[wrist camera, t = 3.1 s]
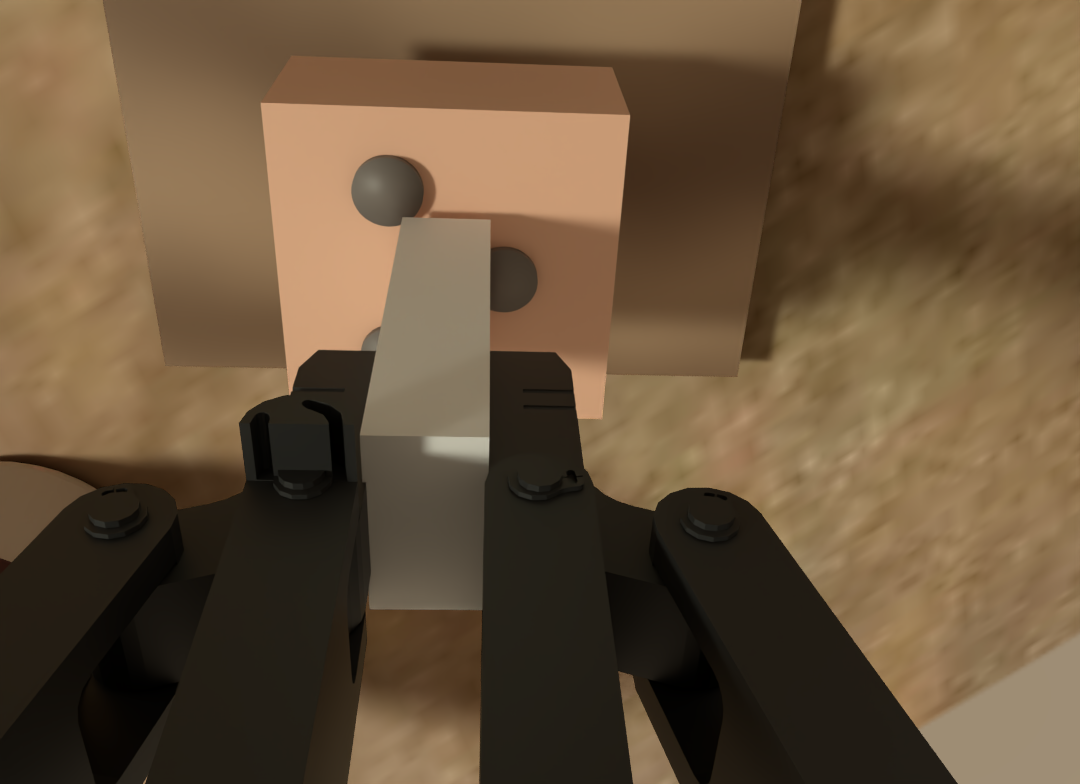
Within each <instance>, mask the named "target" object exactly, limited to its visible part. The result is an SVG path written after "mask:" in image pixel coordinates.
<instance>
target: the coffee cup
mask: <svg viewBox="0 0 1080 784" xmlns="http://www.w3.org/2000/svg"><path fill="white" fill-rule="evenodd" d="M94 490H97V489H96V488H94V487H92V486H90V485H89V484H87V483H85V482H83V481H81V480H79V479H77V478H74V477H72V476H69V475H67V474H64V473H62V472H59V471H57V470H53V469H49V468H46V467H42V466H38V465H32V464H25V463H18V462H3V461H0V574H1V573H2V572H3V571H4V570H5V569H6V568H7V567H8V566H9V565H10V563H11V562H12V561H13V560H14V559H15V558H16V557H17V556H18V555H19V554H20V553H21V552H22V551H23V550H24V549H25V548H26V547H27V546H28V545H29V544H30V543H31V542H32V541H33V540H34V539H35V538H36V537H37V536H38V535H39V534H40V533H41V531H42V530H43V529H44V528H45V527H46V526H47V525H48V524H49V523H50V522H51V521H52V520H53V519H54V518H55V517H56V516H57V515H58V514H59V513H60V512H61V511H62V510H63V509H64V508H65V507H67V506H68V505H69V504H71V503H72V502H73V501H75V500H76V499H77V498H79V497H80V496H82V495H85V494H87V493H89V492H92V491H94Z"/></svg>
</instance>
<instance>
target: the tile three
mask: <svg viewBox="0 0 1080 784" xmlns="http://www.w3.org/2000/svg"><path fill="white" fill-rule="evenodd" d="M261 112H262V122H263V132H264V142H265V152H266V162H267V172H268V183H269V193H270V203H271V213H272V223H273V233H274V243H275V253H276V263H277V274H278V284H279V294H280V304H281V314H282V324H283V334H284V344H285V354H286V365H287V375H288V385H289V395H290V394H291V391H292V390H293V388H292V387H293V384H294V381H295V378H296V375H297V371H298V368H299V367H300V366H301V365H302V364H303V363H304V362H305V361H306V360H308V359H309V358H310V357H311V356H312V355H313V354H314V353H315V352H317V351H318V350H355V351H376V349H377V344H378V339H379V334H380V329H381V324H382V319H383V313H384V308H385V303H386V298H387V293H388V288H389V283H390V278H391V272H392V267H393V262H394V257H395V252H396V247H397V242H398V237H399V231H400V226H401V221H402V217H415V218H451V219H487V220H491V229H490V351H524V352H556V353H557V355H558V356H559V357H560V358H561V359H562V360H563V361H564V362H565V363H566V365H567V366H568V367H569V368H570V369H571V371H572V379H573V387H574V395H575V403H576V410H577V418H578V419H602V414H603V403H604V392H605V382H606V371H607V360H608V349H609V338H610V328H611V317H612V306H613V295H614V285H615V274H616V263H617V252H618V241H619V231H620V220H621V209H622V198H623V188H624V177H625V166H626V155H627V144H628V134H629V123H630V113H629V111H628V108H627V105H626V103H625V100H624V97H623V95H622V92H621V89H620V87H619V84H618V81H617V78H616V76H615V73H614V70H613V68H612V67H592V66H564V65H536V64H509V63H481V62H453V61H426V60H398V59H370V58H343V57H315V56H291V57H290V59H289V60H288V62H287V63H286V65H285V66H284V68H283V69H282V71H281V72H280V74H279V75H278V77H277V79H276V80H275V82H274V83H273V85H272V86H271V88H270V89H269V91H268V92H267V94H266V95H265V97H264V98H263V100H262V101H261Z"/></svg>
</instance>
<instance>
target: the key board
mask: <svg viewBox="0 0 1080 784" xmlns="http://www.w3.org/2000/svg"><path fill="white" fill-rule="evenodd" d="M801 2H802V0H103V4H104V10H105V16H106V22H107V27H108V33H109V39H110V45H111V51H112V57H113V63H114V68H115V74H116V80H117V86H118V92H119V98H120V103H121V109H122V115H123V121H124V127H125V133H126V138H127V144H128V150H129V156H130V162H131V168H132V173H133V179H134V185H135V191H136V197H137V203H138V208H139V214H140V220H141V226H142V232H143V238H144V243H145V249H146V255H147V261H148V267H149V273H150V278H151V284H152V290H153V296H154V302H155V308H156V313H157V319H158V325H159V331H160V337H161V343H162V348H163V354H164V360H165V366H195V367H248V368H287V365H286V354H285V344H284V334H283V324H282V314H281V304H280V294H279V284H278V274H277V263H276V253H275V243H274V233H273V223H272V213H271V203H270V193H269V183H268V172H267V162H266V152H265V142H264V132H263V122H262V112H261V101H262V100H263V98H264V97H265V95H266V94H267V92H268V91H269V89H270V88H271V86H272V85H273V83H274V82H275V80H276V79H277V77H278V75H279V74H280V72H281V71H282V69H283V68H284V66H285V65H286V63H287V62H288V60H289V59H290V57H291V56H315V57H343V58H370V59H398V60H426V61H453V62H481V63H509V64H536V65H564V66H592V67H612V68H613V70H614V73H615V76H616V78H617V81H618V84H619V87H620V89H621V92H622V95H623V97H624V100H625V103H626V105H627V108H628V111H629V113H630V123H629V134H628V144H627V155H626V166H625V177H624V188H623V198H622V209H621V220H620V231H619V241H618V252H617V263H616V274H615V285H614V295H613V306H612V317H611V328H610V338H609V349H608V360H607V371H606V374H616V375H668V376H721V377H737V374H738V369H739V363H740V357H741V351H742V345H743V339H744V334H745V328H746V322H747V316H748V310H749V305H750V299H751V293H752V287H753V281H754V275H755V270H756V264H757V258H758V252H759V246H760V241H761V235H762V229H763V223H764V217H765V211H766V206H767V200H768V194H769V188H770V182H771V176H772V171H773V165H774V159H775V153H776V147H777V142H778V136H779V130H780V124H781V118H782V112H783V107H784V101H785V95H786V89H787V83H788V77H789V72H790V66H791V60H792V54H793V48H794V43H795V37H796V31H797V25H798V19H799V13H800V8H801Z"/></svg>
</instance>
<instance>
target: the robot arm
mask: <svg viewBox="0 0 1080 784" xmlns="http://www.w3.org/2000/svg"><path fill="white" fill-rule="evenodd" d="M490 229H491V220H487V219H451V218H415V217H402V221H401V226H400V231H399V237H398V242H397V247H396V252H395V257H394V262H393V267H392V272H391V278H390V283H389V288H388V293H387V298H386V303H385V308H384V313H383V319H382V324H381V329H380V334H379V339H378V344H377V349H376V351H355V350H318V351H317V352H315V353H314V354H313V355H312V356H311V357H310V358H309V359H308V360H306V361H305V362H304V363H303V364H302V365H301V366H300V367H299V368H298V371H297V375H296V378H295V381H294V384H293V387H292V388H293V390H292V391H291V394H290V395H286V396H281V397H278V398H274V399H271V400H268V401H264V402H262V403H261V404H259V405H257V406H256V407H254V408H252V409H251V410H249V411H248V412H247V413H246V414H245V416H244V417H243V418H242V420H241V421H240V422H239V427H240V435H241V442H242V450H243V458H244V465H245V473H246V483H245V486H244V489H243V492H241V493H239V494H237V495H235V496H233V497H230V498H228V499H226V500H222V501H218V502H214V503H211V504H207V505H201V506H196V507H191V508H186V509H181V510H177V507H176V502H175V499H174V498H173V497H171V496H170V495H169V494H168V493H167V492H166V491H165V490H163V489H160V488H157V487H154V486H151V485H148V484H133V483H123V484H118V485H112V486H107V487H102V488H99V489H97V490H94V491H92V492H89V493H87V494H85V495H82V496H80V497H79V498H77V499H76V500H75V501H73V502H72V503H71V504H69V505H68V506H67V507H65V508H64V509H63V510H62V511H61V512H60V513H59V514H58V515H57V516H56V517H55V518H54V519H53V520H52V521H51V522H50V523H49V524H48V525H47V526H46V527H45V528H44V529H43V530H42V531H41V533H40V534H39V535H38V536H37V537H36V538H35V539H34V540H33V541H32V542H31V543H30V544H29V545H28V546H27V547H26V548H25V549H24V550H23V551H22V552H21V553H20V554H19V555H18V556H17V557H16V558H15V559H14V560H13V561H12V562H11V563H10V565H9V566H8V567H7V568H6V569H5V570H4V571H3V572H2V573H1V574H0V784H143V782H144V780H145V779H146V777H147V776H148V777H147V780H146V783H145V784H347V781H348V774H349V767H350V760H351V752H352V745H353V738H354V731H355V723H356V716H357V709H358V702H359V694H360V687H361V680H362V673H363V666H364V658H365V651H366V644H367V630H366V614H365V609H366V602H367V596H368V590H369V607H370V609H385V610H482V650H481V713H480V774H479V784H633V780H632V772H631V765H630V757H629V750H628V742H627V735H626V727H625V720H624V712H623V705H622V697H621V689H620V682H619V674H618V671H620V672H624V673H627V674H631V675H633V678H634V683H635V688H636V691H637V693H638V695H639V697H640V699H641V702H642V704H643V706H644V708H645V710H646V712H647V715H648V717H649V719H650V721H651V723H652V725H653V728H654V730H655V732H656V734H657V736H658V738H659V741H660V743H661V745H662V747H663V749H664V751H665V754H666V756H667V758H668V760H669V762H670V764H671V767H672V769H673V771H674V773H675V775H676V777H677V779H678V782H679V784H958V783H957V782H956V781H955V779H954V778H953V777H952V775H951V774H950V773H949V771H948V770H947V769H946V767H945V766H944V764H943V763H942V762H941V760H940V759H939V758H938V756H937V755H936V753H935V752H934V751H933V749H932V748H931V746H930V745H929V744H928V742H927V741H926V740H925V738H924V737H923V736H922V734H921V733H920V731H919V730H918V729H917V727H916V726H915V724H914V723H913V722H912V720H911V719H910V718H909V716H908V715H907V713H906V712H905V711H904V709H903V708H902V707H901V705H900V704H899V702H898V701H897V700H896V698H895V697H894V696H893V694H892V693H891V691H890V690H889V689H888V687H887V686H886V685H885V683H884V682H883V680H882V679H881V678H880V676H879V675H878V674H877V672H876V671H875V669H874V668H873V667H872V665H871V664H870V663H869V661H868V660H867V658H866V657H865V656H864V654H863V653H862V652H861V650H860V649H859V647H858V646H857V645H856V643H855V642H854V641H853V639H852V638H851V636H850V635H849V634H848V632H847V631H846V630H845V628H844V627H843V626H842V624H841V623H840V621H839V620H838V619H837V617H836V616H835V615H834V613H833V612H832V610H831V609H830V608H829V606H828V605H827V604H826V602H825V601H824V599H823V598H822V597H821V595H820V594H819V593H818V591H817V590H816V588H815V587H814V586H813V584H812V583H811V582H810V580H809V579H808V577H807V576H806V575H805V573H804V572H803V571H802V569H801V568H800V566H799V565H798V564H797V562H796V561H795V560H794V558H793V557H792V555H791V554H790V553H789V551H788V550H787V549H786V547H785V546H784V544H783V543H782V542H781V540H780V539H779V538H778V536H777V535H776V533H775V532H774V531H773V529H772V528H771V527H770V525H769V524H768V522H767V521H766V520H765V518H764V517H763V516H762V514H761V513H760V512H759V511H758V510H757V509H756V508H754V507H753V506H752V505H751V504H750V503H749V502H748V501H746V500H744V499H742V498H740V497H738V496H736V495H734V494H732V493H730V492H726V491H721V490H717V489H712V488H686V489H683V490H679V491H676V492H673V493H670V494H669V495H667V496H666V497H665V498H664V499H662V500H661V501H660V502H658V505H657V507H656V510H655V511H652V510H647V509H643V508H639V507H634V506H631V505H628V504H625V503H621V502H618V501H616V500H614V499H612V498H610V497H608V496H606V495H604V494H603V493H602V492H601V491H599V490H598V489H597V488H596V487H594V486H593V482H592V480H591V478H590V476H589V474H588V472H587V471H586V470H585V469H584V466H583V458H582V450H581V442H580V434H579V426H578V418H577V410H576V403H575V395H574V387H573V379H572V371H571V369H570V368H569V367H568V366H567V365H566V363H565V362H564V361H563V360H562V359H561V358H560V357H559V356H558V355H557V353H556V352H524V351H490Z"/></svg>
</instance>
